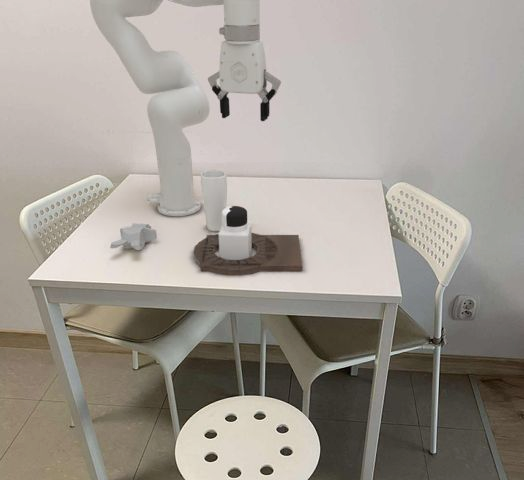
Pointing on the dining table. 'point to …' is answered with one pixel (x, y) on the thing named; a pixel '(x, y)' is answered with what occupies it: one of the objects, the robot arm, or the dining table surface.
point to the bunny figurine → (135, 236)
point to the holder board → (266, 259)
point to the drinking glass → (214, 197)
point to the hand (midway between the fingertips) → (244, 118)
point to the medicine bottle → (235, 234)
